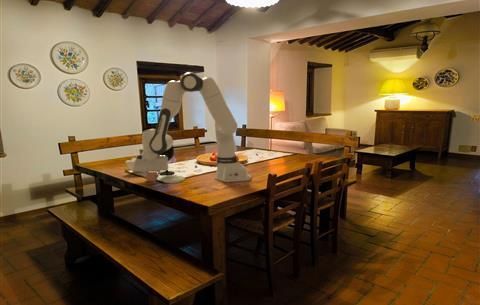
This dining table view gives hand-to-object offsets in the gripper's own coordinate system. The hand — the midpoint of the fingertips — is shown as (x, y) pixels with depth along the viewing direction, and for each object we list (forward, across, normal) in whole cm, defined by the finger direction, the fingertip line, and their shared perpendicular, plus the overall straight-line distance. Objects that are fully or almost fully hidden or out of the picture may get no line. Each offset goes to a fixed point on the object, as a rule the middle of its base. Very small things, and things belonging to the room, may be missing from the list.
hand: (152, 177), depth 191 cm
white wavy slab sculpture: (+2, +10, -32) cm, 34 cm away
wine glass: (+2, -6, -16) cm, 17 cm away
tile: (+2, -13, 0) cm, 13 cm away
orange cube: (+2, 0, 0) cm, 2 cm away
